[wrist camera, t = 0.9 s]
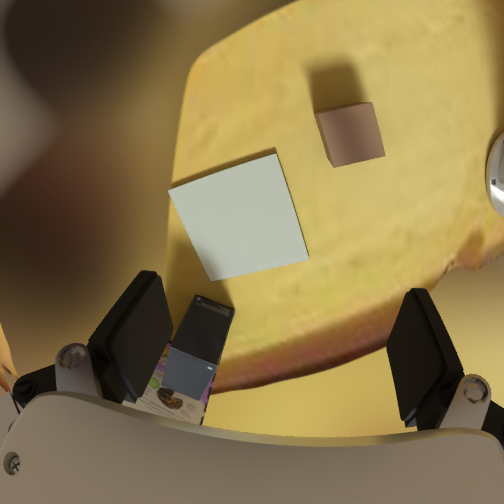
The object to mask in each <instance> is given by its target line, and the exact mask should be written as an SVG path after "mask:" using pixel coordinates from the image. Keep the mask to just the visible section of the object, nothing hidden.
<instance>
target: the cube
mask: <svg viewBox="0 0 504 504" xmlns="http://www.w3.org/2000/svg"><path fill="white" fill-rule="evenodd" d="M314 116H315V119H316V122H317V125H318V128H319V131H320V135H321V138H322V141H323V145H324V148H325V151H326V155H327V158H328V160H329V161H330V163H331V164H332V166H333V167H334V168H336V167H340V166H344V165H348V164H353V163H357V162H361V161H365V160H370V159H374V158H379V157H384V156H385V152H384V147H383V143H382V139H381V134H380V130H379V126H378V123H377V119H376V115H375V111H374V108H373V104H372V102H370V103H355V104H350V105H345V106H341V107H336V108H332V109H328V110H324V111H320V112H316V113H314Z"/></svg>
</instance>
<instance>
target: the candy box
mask: <svg viewBox="0 0 504 504" xmlns="http://www.w3.org/2000/svg"><path fill="white" fill-rule="evenodd" d="M171 344H172V342H170V341H168V343H167V345H166V347H165V350H164V352H163V354H162V356H161V358H160V360H159V362H158V364H157V366H156V368H155V370H154V372H153V375H152V377H151V379H150V381H149V383H148V385H147V387H146V390H145V392H144V394H143V396H142V397H141V398H138V399H137V401H136V403H135V404H134V403H131V402H127V401H123V403H122V405H124V406H127V407H131V408H134V409H137V410H141V411H145V412H148V413H152V414H155V415H159V416H163V417H167V418H171V419H175V420H179V421H184V422H188V423H193V424H198V425H202V423H203V419H204V416H205V412H206V408H207V404H208V400H209V397H210V393H211V389H212V386H213V381H214V378H215V375H216V372H215V374H214V376H213V377H212V379H211V381H210V383H209V385H208V387H207V388H206V390H205V392H204V394H203V396H202V397H201V399H200V401H198V400H195V399H193V398H190V397H188V396H185V395H183V394H180V393H178V392H175V391H173V390H171V389H168V388H166V387H164V386H162V385H161V381H162V377H163V373H164V369H165V365H166V361H167V357H168V353H169V349H170V346H171Z"/></svg>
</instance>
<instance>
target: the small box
mask: <svg viewBox="0 0 504 504" xmlns="http://www.w3.org/2000/svg"><path fill="white" fill-rule="evenodd" d="M234 314H235V310H234V309H232V308H229V307H226V306H224V305H221V304H218V303H216V302H214V301H211V300H209V299H207V298H204V297H201V296H199V295H195V297H194V299H193V301H192V302H191V304H190V306H189V308H188V310H187V312H186V314H185V316H184V318H183V320H182V322H181V324H180V327H179V329H178V331H177V333H176V335H175V337H174V339H173V341H172V344H171V346H170V349H169V353H168V357H167V361H166V365H165V369H164V373H163V377H162V381H161V385H162V386H164V387H166V388H168V389H171V390H173V391H175V392H178V393H180V394H183V395H185V396H188V397H190V398H193V399H195V400H198V401H200V399H201V397H202V396H203V394H204V392H205V390H206V388H207V387H208V385H209V383H210V381H211V379H212V377H213V376H214V374H215V372H216V370H217V368H218V365H219V362H220V359H221V355H222V352H223V348H224V345H225V342H226V338H227V335H228V332H229V329H230V325H231V322H232V319H233V316H234Z"/></svg>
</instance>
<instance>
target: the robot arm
mask: <svg viewBox="0 0 504 504" xmlns="http://www.w3.org/2000/svg"><path fill="white" fill-rule="evenodd" d="M486 186H487V193H488V196H489V200H490V202H491V204H492V206H493V207H494V209H495V210H496V211H497V212H498V213H499V214H500V215H501V216H503V217H504V132H503V133H501V134H500V135H499V136H498V138H497V139H496V140H495V142H494V144H493V146H492V148H491V151H490V154H489V157H488V162H487V168H486ZM172 332H173V324H172V320H171V317H170V313H169V309H168V305H167V300H166V296H165V292H164V288H163V283H162V279H161V277H160V276H158V275H157V273H156V272H155V271H146V270H143V271H141V272H140V273H139V274H138V275H137V276H136V278H135V279H134V280H133V281H132V283H131V284H130V285H129V286H128V288H127V289H126V290H125V291H124V293H123V294H122V296H121V297H120V298H119V299H118V300H117V302H116V303H115V304H114V306H113V307H112V308H111V310H110V311H109V312H108V314H107V315H106V316H105V318H104V319H103V320H102V322H101V323H100V324H99V326H98V327H97V328H96V330H95V331H94V333H93V334H92V335H91V337H90V338H89V340H88V341H89V343H88V345H87V346H85V345H84V344H82V343H71V344H68V345H66V346H64V347H63V348H62V349H61V350H60V351H59V352H58V354H57V355H56V358H55V364H54V365H51V366H48V367H45V368H42V369H40V370H37V371H34V372H32V373H29V374H26V375H23V376H22V377H20V378H19V379H18V380H17V381H16V383H15V384H14V387H13V392H12V393H11V392H10V391H9V392H7V393H6V394H4V395H3V396H2V397H0V504H504V408H502V407H501V406H499V405H498V404H496V403H494V402H493V401H492V400H491V388H490V386H489V384H488V382H486V380H485V379H484V378H482V377H481V376H479V375H476V374H469V375H466V376H465V375H464V372H463V367H462V364H461V362H460V359H459V357H458V355H457V352H456V350H455V348H454V346H453V343H452V341H451V339H450V336H449V334H448V332H447V330H446V327H445V325H444V323H443V321H442V319H441V317H440V315H439V313H438V311H437V309H436V307H435V305H434V303H433V301H432V299H431V297H430V295H429V293H428V291H427V290H426V289H425V288H412V289H411V290H410V291H409V292H407V293H406V294H405V297H404V300H403V302H402V305H401V308H400V311H399V313H398V316H397V319H396V321H395V324H394V326H393V329H392V331H391V334H390V336H389V338H388V341H387V346H386V348H387V354H388V358H389V362H390V367H391V371H392V376H393V381H394V385H395V390H396V396H397V401H398V406H399V412H400V417H401V420H402V421H405V427H406V428H407V427H414V426H417V429H418V431H415V432H408V433H399V434H390V435H389V434H388V435H377V436H362V437H293V436H277V435H265V434H256V433H248V432H240V431H233V430H226V429H220V428H214V427H209V426H203V425H198V424H193V423H188V422H184V421H179V420H175V419H171V418H167V417H163V416H159V415H155V414H152V413H148V412H145V411H141V410H137V409H134V408H131V407H127V406H124V405H122V403H123V401H127V402H131V403H134V404H135V403H136V401H137V399H138V398H141V397H142V396H143V394H144V392H145V390H146V387H147V385H148V383H149V381H150V379H151V377H152V375H153V372H154V370H155V368H156V366H157V364H158V362H159V360H160V358H161V356H162V354H163V352H164V350H165V347H166V345H167V343H168V341H169V339H170V337H171V335H172Z"/></svg>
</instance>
